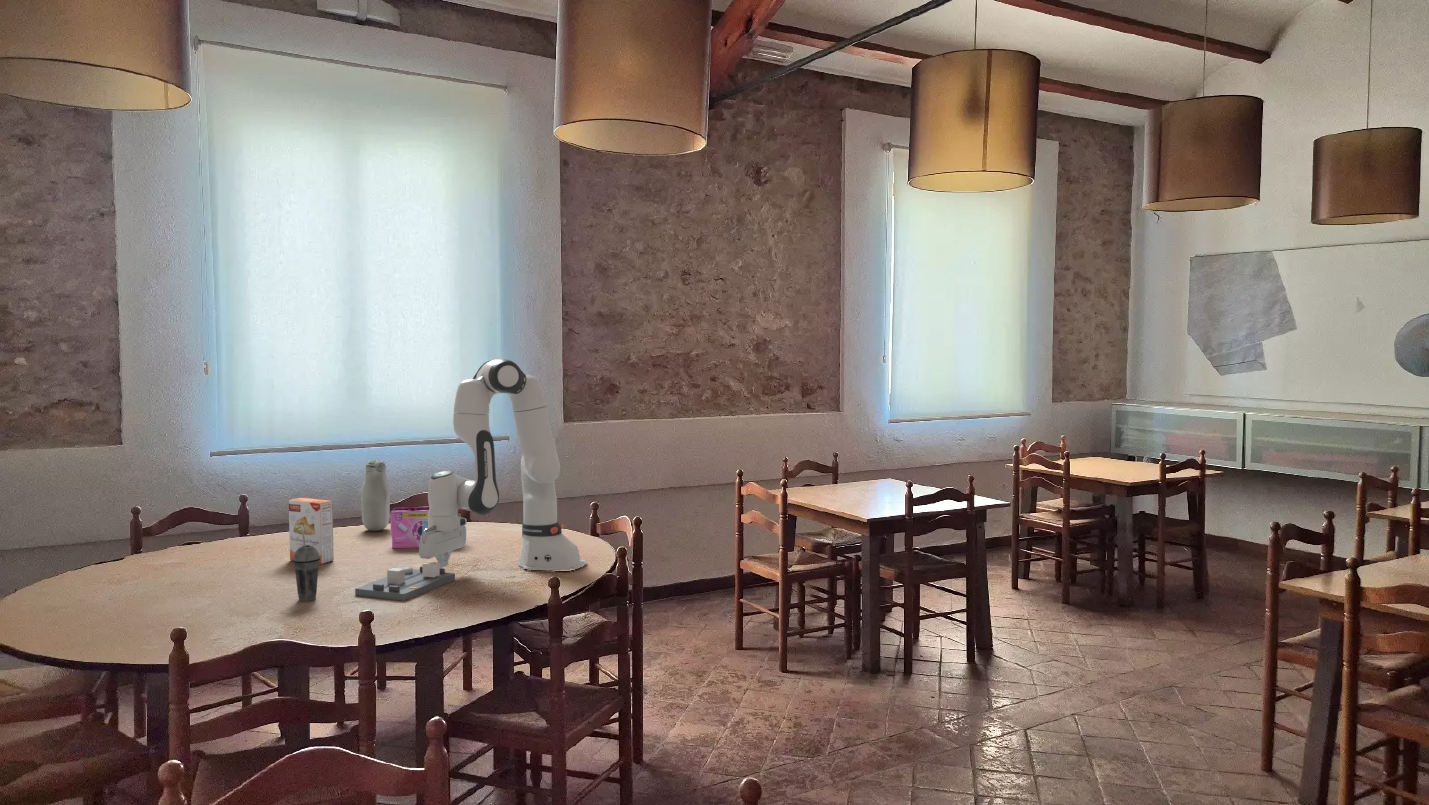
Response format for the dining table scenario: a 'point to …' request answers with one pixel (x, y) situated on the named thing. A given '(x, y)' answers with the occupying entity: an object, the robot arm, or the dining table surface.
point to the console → (403, 584)
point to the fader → (430, 569)
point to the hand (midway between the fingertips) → (443, 566)
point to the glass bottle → (375, 496)
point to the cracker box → (311, 526)
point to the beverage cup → (306, 571)
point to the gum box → (408, 526)
